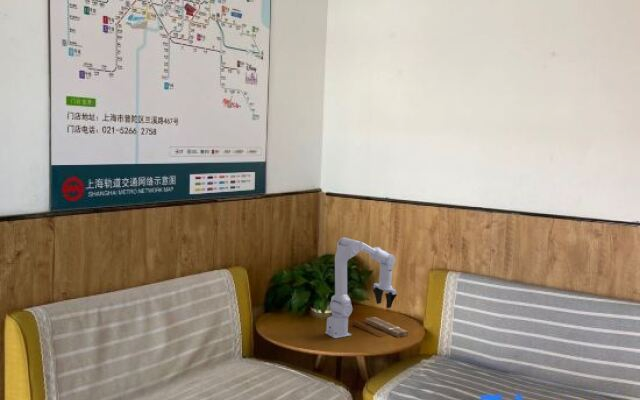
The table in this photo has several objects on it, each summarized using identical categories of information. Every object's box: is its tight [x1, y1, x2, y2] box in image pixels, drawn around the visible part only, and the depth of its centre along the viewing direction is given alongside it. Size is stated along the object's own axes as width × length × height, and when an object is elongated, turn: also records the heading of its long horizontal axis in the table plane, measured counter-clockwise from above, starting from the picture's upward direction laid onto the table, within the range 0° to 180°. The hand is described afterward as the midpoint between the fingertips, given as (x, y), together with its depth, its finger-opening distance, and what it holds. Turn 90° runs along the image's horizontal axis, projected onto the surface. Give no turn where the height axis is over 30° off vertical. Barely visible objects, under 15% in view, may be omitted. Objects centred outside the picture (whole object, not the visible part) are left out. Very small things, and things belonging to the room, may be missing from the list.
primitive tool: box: [351, 319, 388, 338], centre depth 270 cm, size 19×6×4 cm, turn 45°
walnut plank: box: [364, 316, 409, 338], centre depth 275 cm, size 6×24×2 cm, turn 34°
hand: (383, 305), depth 278 cm, fingers open, 7 cm apart
